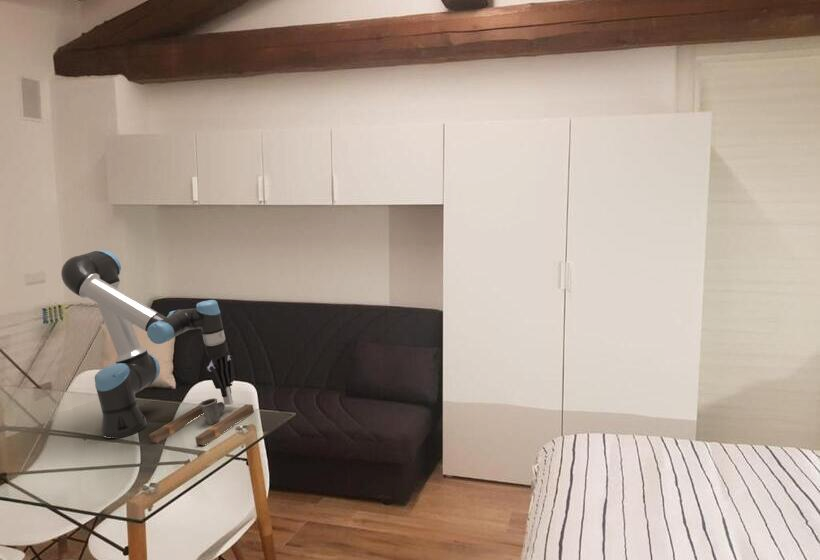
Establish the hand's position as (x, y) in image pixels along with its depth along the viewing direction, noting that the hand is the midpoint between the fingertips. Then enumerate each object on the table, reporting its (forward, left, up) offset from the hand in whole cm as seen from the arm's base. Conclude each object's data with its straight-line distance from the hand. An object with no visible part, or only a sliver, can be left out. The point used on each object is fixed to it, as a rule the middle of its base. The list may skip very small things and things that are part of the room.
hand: (228, 403), depth 244 cm
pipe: (-1, -8, -3) cm, 8 cm away
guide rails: (0, -14, -3) cm, 14 cm away
